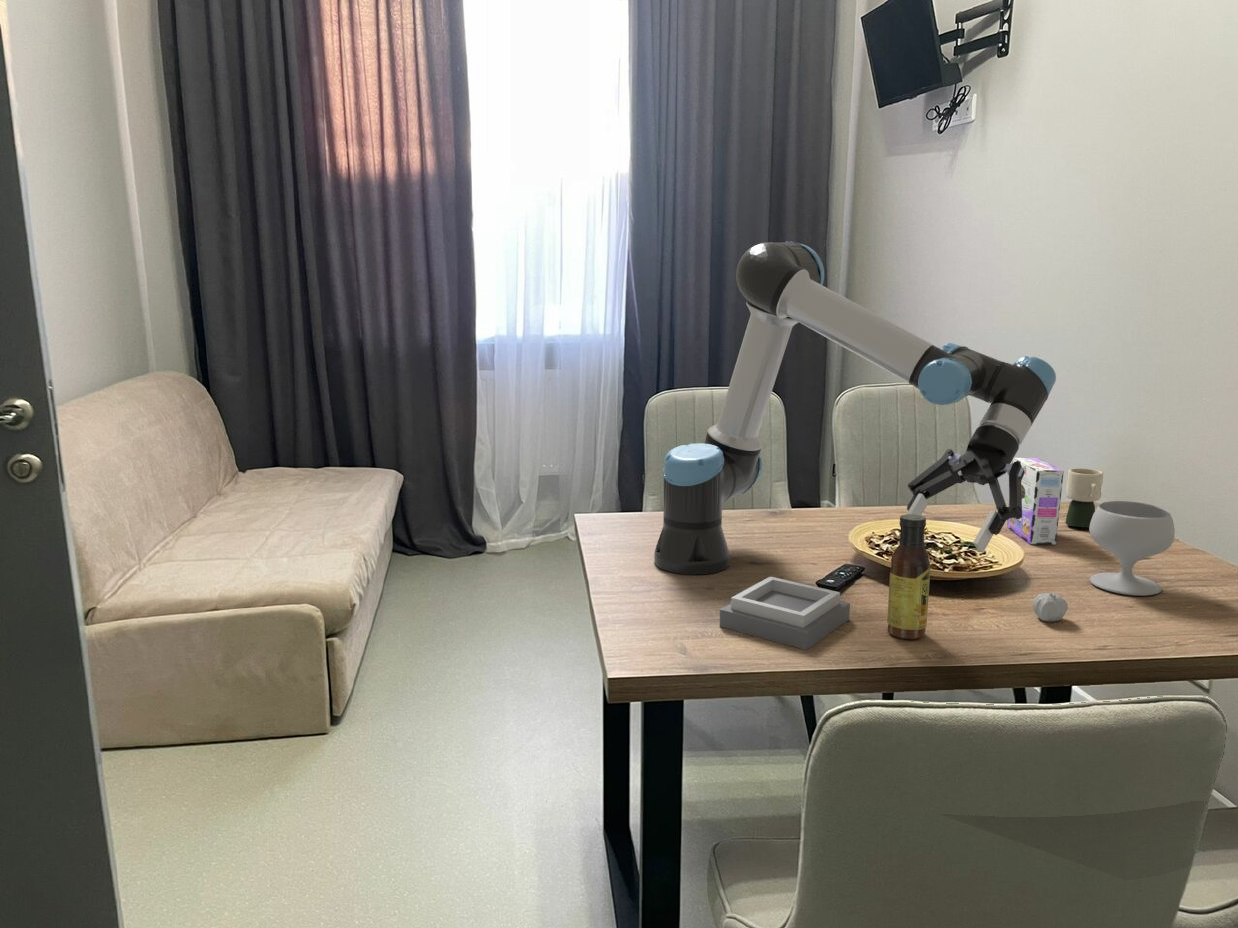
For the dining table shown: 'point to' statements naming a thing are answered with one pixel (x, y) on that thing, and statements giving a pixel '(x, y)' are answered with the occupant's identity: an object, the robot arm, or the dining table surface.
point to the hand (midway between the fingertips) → (940, 538)
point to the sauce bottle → (909, 581)
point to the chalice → (1130, 542)
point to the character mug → (1082, 495)
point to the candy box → (1038, 502)
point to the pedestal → (786, 612)
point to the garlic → (1049, 606)
